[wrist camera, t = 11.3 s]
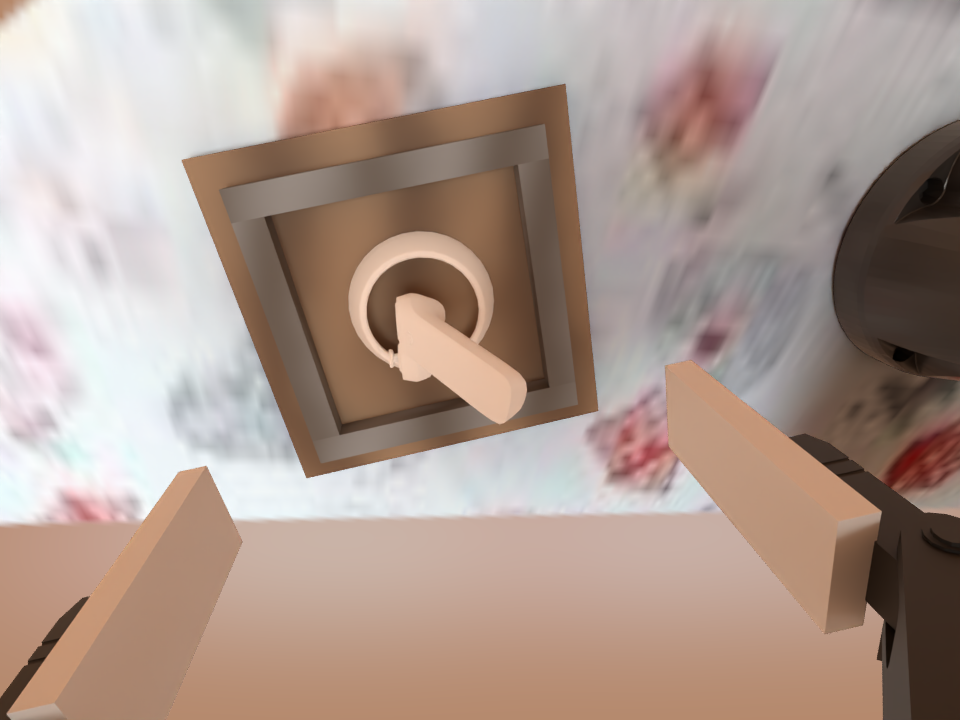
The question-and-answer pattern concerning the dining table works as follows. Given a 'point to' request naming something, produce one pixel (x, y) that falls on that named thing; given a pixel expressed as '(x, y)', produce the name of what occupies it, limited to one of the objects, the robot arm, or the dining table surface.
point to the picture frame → (406, 268)
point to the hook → (439, 327)
